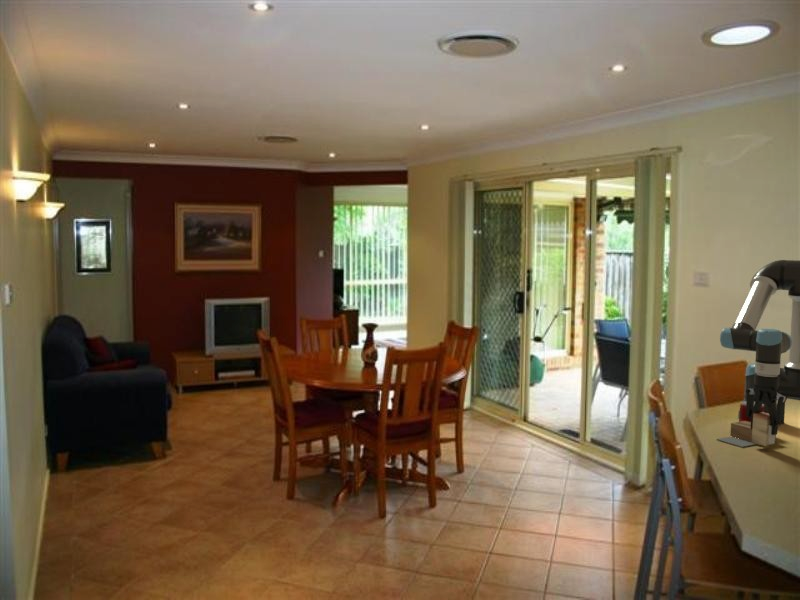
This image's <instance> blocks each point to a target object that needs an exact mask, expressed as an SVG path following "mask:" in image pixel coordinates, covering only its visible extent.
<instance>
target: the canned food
mask: <svg viewBox="0 0 800 600" xmlns="http://www.w3.org/2000/svg"><path fill="white" fill-rule="evenodd" d="M754 405H755V402H754ZM739 410H740V416H739V418H738V422H741V421H748V422H751V419H750V418H749V417H746V401H744V400H743V401H740V404H739ZM760 412H764V404H762V407H761V410H760Z"/></svg>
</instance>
